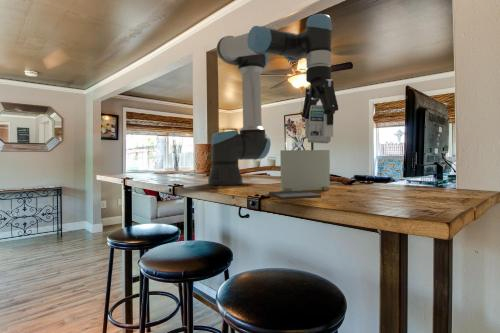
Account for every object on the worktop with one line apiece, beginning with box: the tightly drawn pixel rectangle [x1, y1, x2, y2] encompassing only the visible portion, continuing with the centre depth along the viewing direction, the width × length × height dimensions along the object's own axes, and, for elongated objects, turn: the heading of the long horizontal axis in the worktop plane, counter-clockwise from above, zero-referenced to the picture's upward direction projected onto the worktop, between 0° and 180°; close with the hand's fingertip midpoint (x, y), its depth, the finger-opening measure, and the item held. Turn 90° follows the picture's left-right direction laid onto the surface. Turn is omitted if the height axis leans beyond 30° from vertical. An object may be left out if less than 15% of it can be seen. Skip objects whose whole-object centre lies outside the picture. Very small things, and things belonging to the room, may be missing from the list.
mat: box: [268, 190, 322, 200], centre depth 89 cm, size 12×12×1 cm
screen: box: [279, 149, 331, 191], centre depth 101 cm, size 4×18×14 cm, turn 104°
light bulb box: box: [307, 104, 332, 144], centre depth 92 cm, size 11×7×11 cm, turn 171°
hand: (318, 137), depth 92 cm, fingers closed on light bulb box, 12 cm apart
